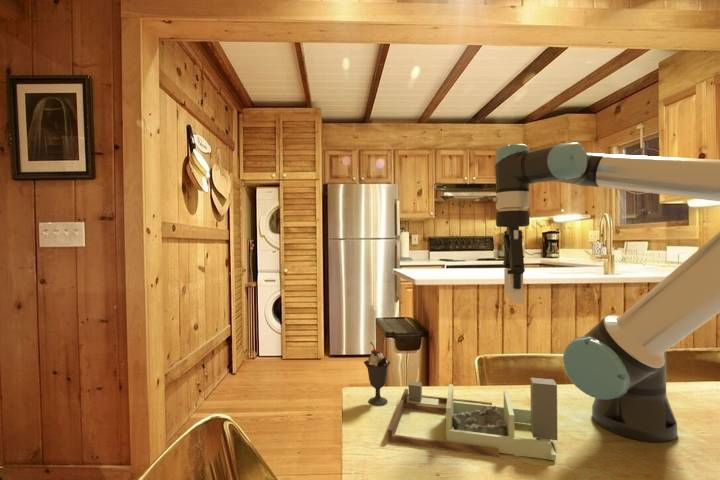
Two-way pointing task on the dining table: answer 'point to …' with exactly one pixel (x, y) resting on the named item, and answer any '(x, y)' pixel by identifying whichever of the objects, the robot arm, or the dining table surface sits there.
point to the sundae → (377, 375)
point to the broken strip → (428, 401)
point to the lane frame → (427, 442)
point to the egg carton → (480, 421)
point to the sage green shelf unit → (538, 416)
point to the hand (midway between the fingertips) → (513, 298)
